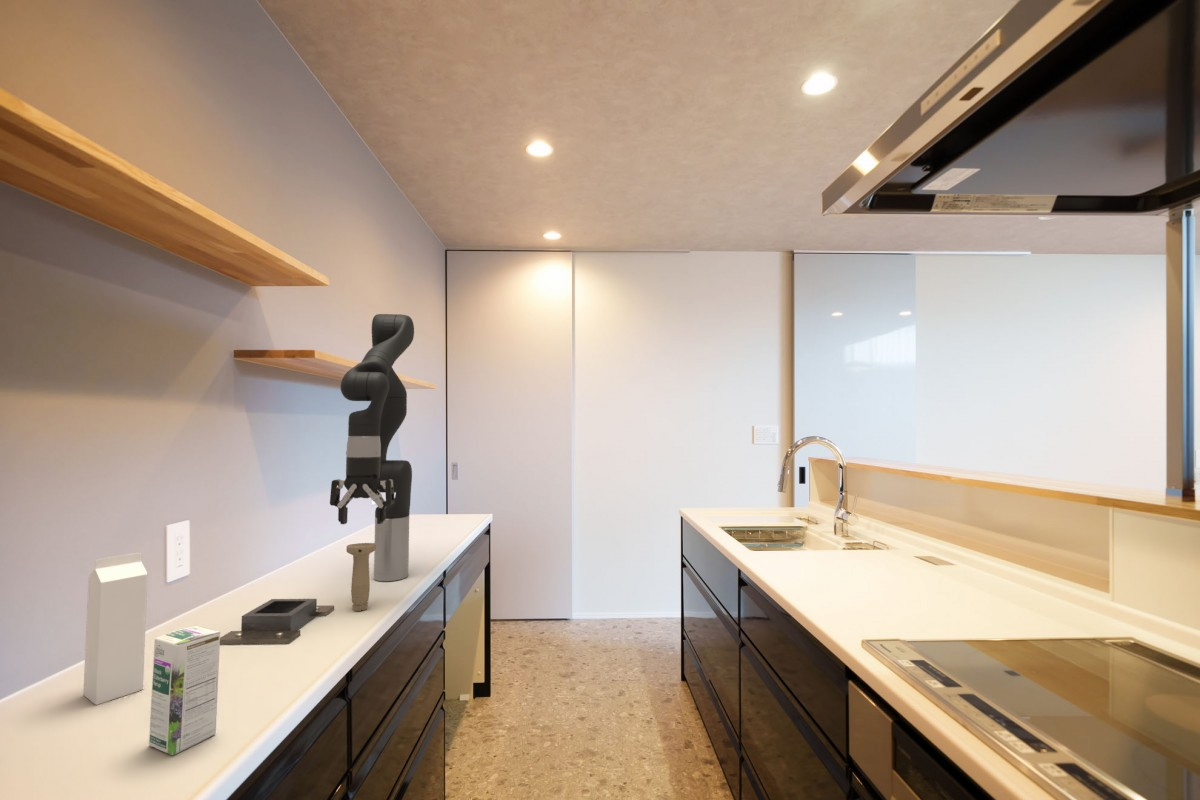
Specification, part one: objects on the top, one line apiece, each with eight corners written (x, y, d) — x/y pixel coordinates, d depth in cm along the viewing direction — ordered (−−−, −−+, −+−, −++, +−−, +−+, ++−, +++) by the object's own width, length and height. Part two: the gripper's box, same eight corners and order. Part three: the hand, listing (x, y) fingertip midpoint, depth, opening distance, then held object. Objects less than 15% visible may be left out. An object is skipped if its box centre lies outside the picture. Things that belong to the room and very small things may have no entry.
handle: (373, 611, 127) (374, 546, 128) (343, 614, 125) (344, 548, 126) (375, 605, 132) (377, 542, 132) (347, 607, 130) (348, 543, 130)
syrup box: (146, 746, 74) (150, 637, 74) (193, 724, 79) (197, 623, 80) (171, 757, 71) (175, 644, 72) (218, 733, 77) (222, 629, 78)
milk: (82, 695, 88) (87, 557, 89) (130, 680, 93) (134, 549, 94) (96, 706, 84) (100, 561, 85) (144, 689, 89) (148, 554, 90)
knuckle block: (273, 610, 128) (274, 592, 128) (334, 609, 128) (334, 592, 128) (216, 644, 108) (217, 624, 108) (288, 644, 108) (289, 623, 108)
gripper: (399, 454, 134) (397, 521, 133) (340, 454, 134) (338, 521, 133) (388, 456, 127) (386, 526, 126) (326, 455, 126) (323, 526, 125)
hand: (361, 523), depth 129 cm, fingers open, 8 cm apart
